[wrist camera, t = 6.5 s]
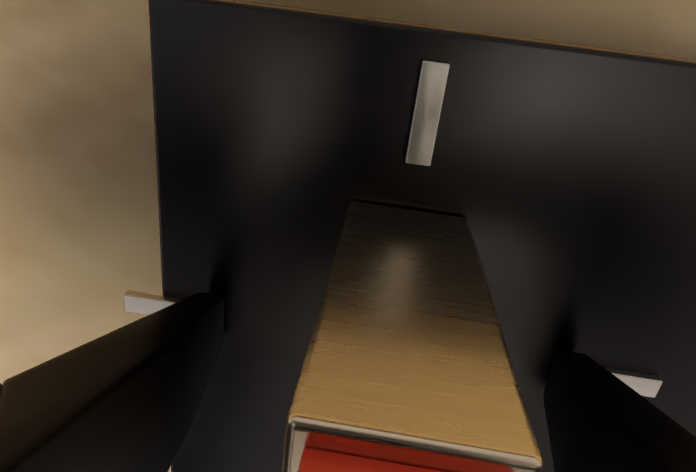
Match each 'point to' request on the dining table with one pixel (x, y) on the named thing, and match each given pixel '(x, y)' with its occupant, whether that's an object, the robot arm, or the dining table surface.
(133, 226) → the dining table surface
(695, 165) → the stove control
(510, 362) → the switch
